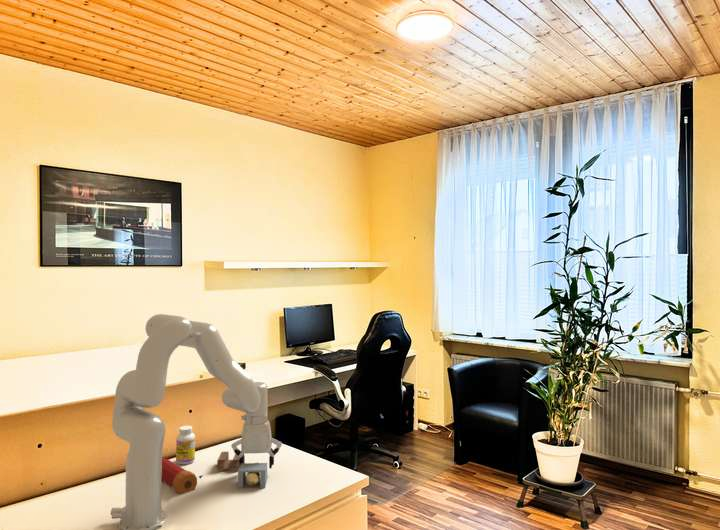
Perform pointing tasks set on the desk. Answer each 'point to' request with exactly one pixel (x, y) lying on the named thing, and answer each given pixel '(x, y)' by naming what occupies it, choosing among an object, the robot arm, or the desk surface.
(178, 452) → the supplement bottle
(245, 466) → the grey hollow block
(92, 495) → the desk surface
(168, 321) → the robot arm
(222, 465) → the v block
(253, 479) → the axle
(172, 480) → the shell casing
